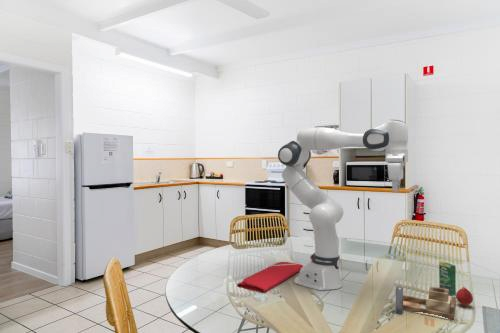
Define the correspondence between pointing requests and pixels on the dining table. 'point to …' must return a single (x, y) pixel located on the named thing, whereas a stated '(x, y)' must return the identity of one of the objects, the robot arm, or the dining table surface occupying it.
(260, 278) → the red folded cloth
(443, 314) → the bay
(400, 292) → the handle peg
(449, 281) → the coffee box
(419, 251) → the dining table surface
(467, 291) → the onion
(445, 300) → the crate
